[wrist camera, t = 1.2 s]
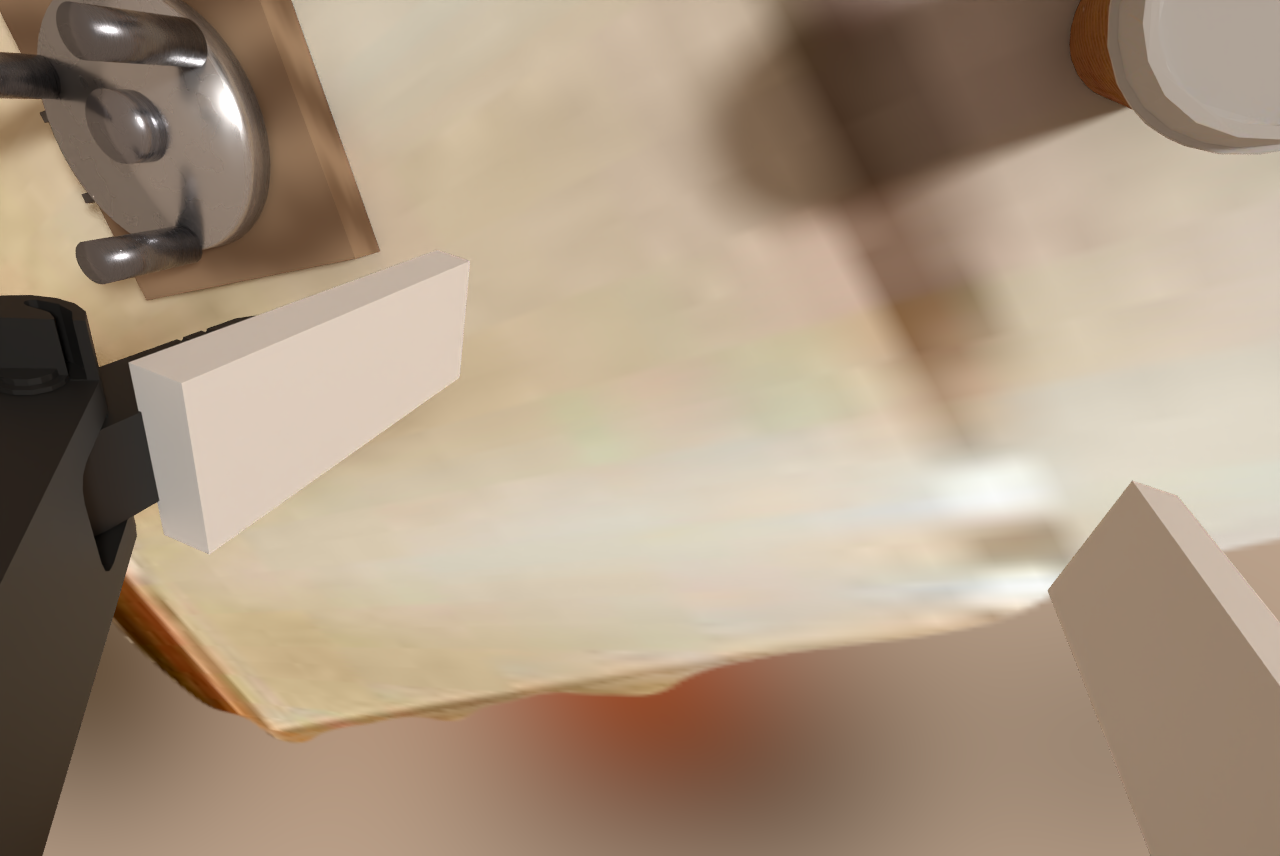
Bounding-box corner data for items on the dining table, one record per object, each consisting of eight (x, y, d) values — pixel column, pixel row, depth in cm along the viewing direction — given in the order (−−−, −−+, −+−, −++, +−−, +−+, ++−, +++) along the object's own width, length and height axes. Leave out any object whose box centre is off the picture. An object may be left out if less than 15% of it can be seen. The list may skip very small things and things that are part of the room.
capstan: (30, 24, 40) (-139, 6, 33) (198, -54, 35) (38, -94, 28) (153, 271, 46) (31, 300, 39) (311, 236, 41) (203, 262, 34)
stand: (32, -4, 43) (-26, -12, 40) (252, -110, 36) (200, -129, 33) (176, 292, 50) (136, 303, 47) (380, 251, 43) (347, 260, 40)
